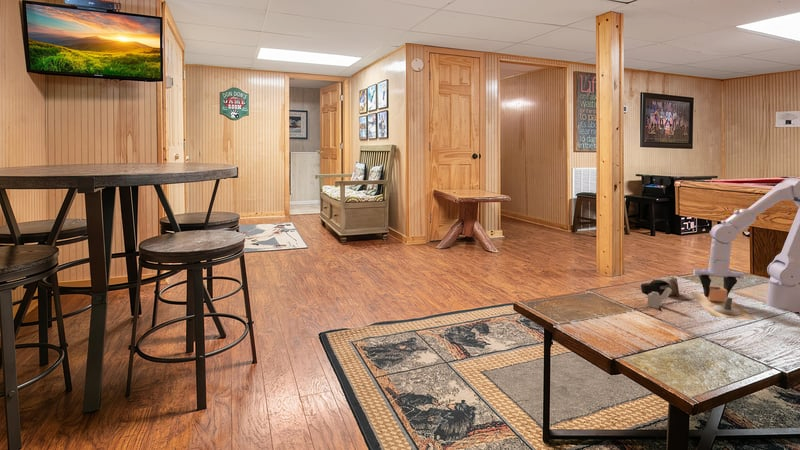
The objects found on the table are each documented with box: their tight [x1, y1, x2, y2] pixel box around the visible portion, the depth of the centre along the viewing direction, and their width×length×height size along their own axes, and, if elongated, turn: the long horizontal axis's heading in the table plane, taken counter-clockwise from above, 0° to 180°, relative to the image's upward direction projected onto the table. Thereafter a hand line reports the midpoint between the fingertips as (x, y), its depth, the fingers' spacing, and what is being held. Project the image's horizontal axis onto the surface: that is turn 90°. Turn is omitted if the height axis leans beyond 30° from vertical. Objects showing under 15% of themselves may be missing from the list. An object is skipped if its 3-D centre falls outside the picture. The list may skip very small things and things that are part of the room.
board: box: [689, 287, 758, 321], centre depth 152 cm, size 12×24×6 cm, turn 163°
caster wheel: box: [640, 276, 681, 298], centre depth 167 cm, size 7×12×10 cm
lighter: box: [647, 287, 672, 310], centre depth 152 cm, size 7×2×8 cm, turn 29°
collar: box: [705, 285, 728, 302], centre depth 157 cm, size 5×5×4 cm
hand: (715, 296), depth 157 cm, fingers closed on collar, 5 cm apart
